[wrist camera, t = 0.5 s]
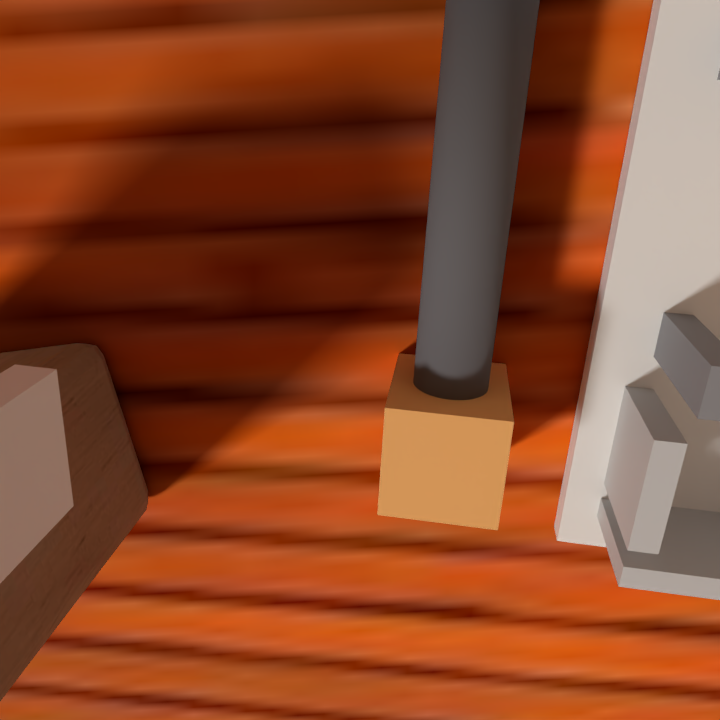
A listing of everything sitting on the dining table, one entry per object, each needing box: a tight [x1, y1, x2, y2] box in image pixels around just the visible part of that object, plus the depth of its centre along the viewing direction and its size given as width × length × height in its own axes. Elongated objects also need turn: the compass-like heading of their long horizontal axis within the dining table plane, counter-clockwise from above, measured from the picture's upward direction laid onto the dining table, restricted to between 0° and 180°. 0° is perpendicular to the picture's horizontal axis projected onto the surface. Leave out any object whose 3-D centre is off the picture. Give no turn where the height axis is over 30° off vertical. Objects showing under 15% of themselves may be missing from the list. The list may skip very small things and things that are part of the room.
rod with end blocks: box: [377, 0, 540, 530], centre depth 26 cm, size 24×5×6 cm, turn 177°
